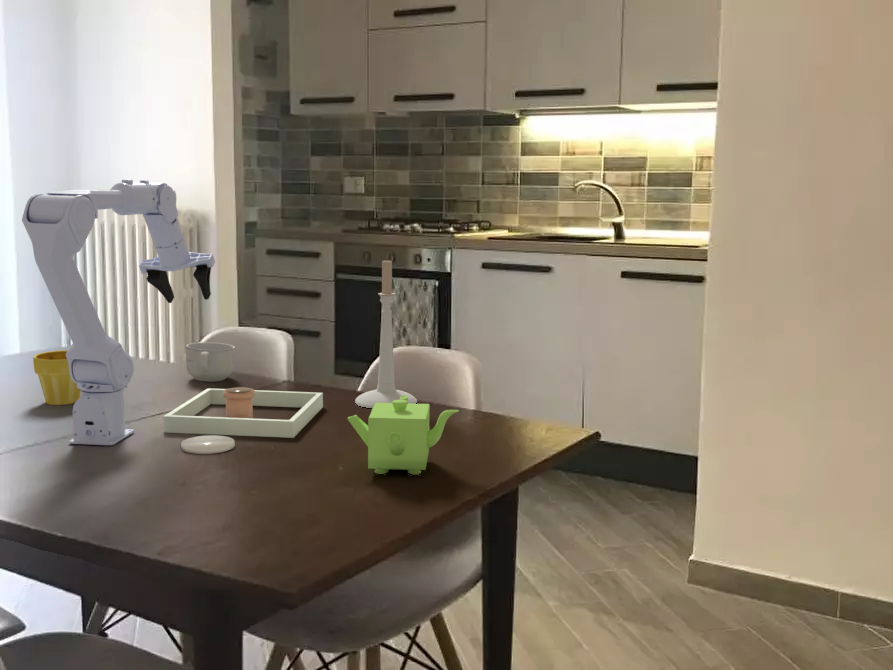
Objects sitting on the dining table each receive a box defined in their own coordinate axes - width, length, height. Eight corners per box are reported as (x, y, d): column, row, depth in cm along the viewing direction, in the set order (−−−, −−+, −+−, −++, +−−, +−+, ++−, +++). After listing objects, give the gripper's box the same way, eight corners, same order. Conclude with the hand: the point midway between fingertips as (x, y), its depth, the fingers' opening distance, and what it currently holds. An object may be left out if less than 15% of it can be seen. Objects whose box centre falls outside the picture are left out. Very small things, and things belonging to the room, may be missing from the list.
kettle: (403, 450, 173) (404, 386, 171) (463, 468, 163) (464, 401, 161) (335, 467, 162) (336, 399, 160) (394, 487, 152) (395, 416, 151)
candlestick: (389, 393, 217) (389, 255, 212) (429, 403, 208) (431, 259, 203) (342, 402, 208) (342, 257, 203) (383, 413, 199) (383, 262, 194)
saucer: (225, 455, 168) (225, 450, 168) (173, 452, 169) (173, 448, 169) (241, 440, 177) (241, 436, 177) (191, 438, 178) (191, 434, 178)
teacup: (197, 373, 234) (196, 340, 233) (242, 375, 233) (241, 341, 232) (173, 386, 221) (172, 350, 219) (220, 388, 219) (219, 352, 218)
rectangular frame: (293, 437, 180) (293, 421, 179) (163, 432, 182) (163, 416, 181) (322, 407, 203) (322, 392, 203) (207, 402, 205) (207, 388, 205)
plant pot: (54, 410, 197) (51, 361, 196) (25, 402, 203) (22, 354, 202) (100, 401, 205) (98, 354, 204) (71, 393, 211) (69, 348, 210)
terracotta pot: (250, 426, 188) (249, 394, 187) (219, 424, 188) (219, 393, 187) (258, 418, 193) (258, 387, 192) (229, 417, 194) (228, 386, 193)
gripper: (209, 225, 194) (229, 284, 202) (139, 233, 196) (160, 290, 204) (200, 244, 188) (220, 304, 196) (127, 252, 190) (150, 310, 198)
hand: (189, 298), depth 200 cm, fingers open, 7 cm apart
